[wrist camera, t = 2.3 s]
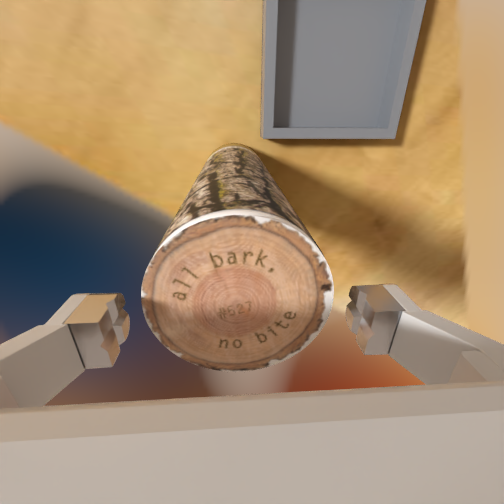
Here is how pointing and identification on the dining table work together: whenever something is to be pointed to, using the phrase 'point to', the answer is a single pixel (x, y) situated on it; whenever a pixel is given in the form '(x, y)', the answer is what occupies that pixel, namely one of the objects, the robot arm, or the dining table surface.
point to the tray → (336, 67)
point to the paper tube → (236, 271)
